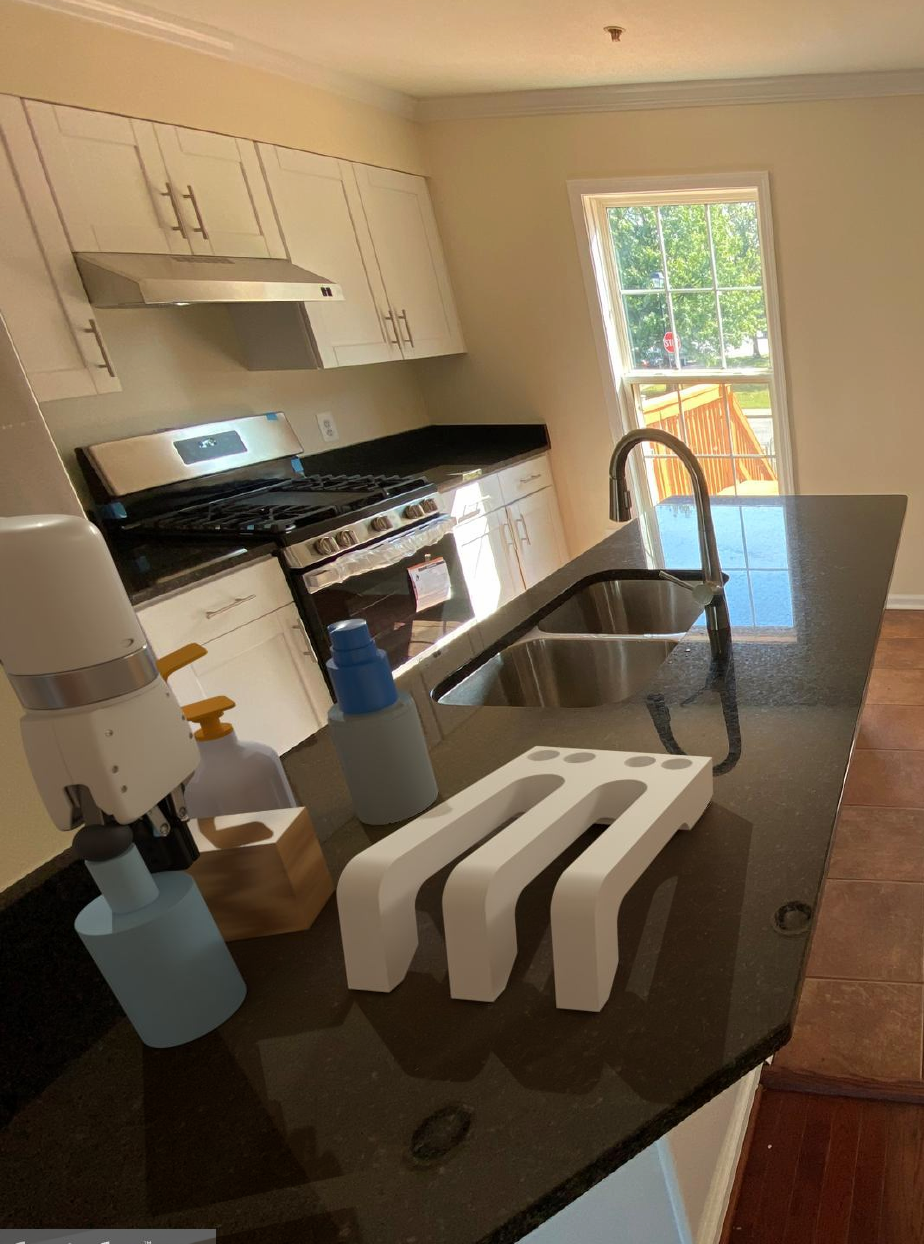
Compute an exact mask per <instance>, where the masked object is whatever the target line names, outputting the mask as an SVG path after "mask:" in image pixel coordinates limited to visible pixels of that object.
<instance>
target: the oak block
mask: <svg viewBox="0 0 924 1244" xmlns="http://www.w3.org/2000/svg"><path fill="white" fill-rule="evenodd" d="M187 824H188V827H189V829H190V831H191V834H192V836H193V838H194V841H195V843H196V845H197V847H198V850H199V852H200V857H199V858H198V859H197V860H196V861H195V862H193V864H192V865H191V866H190V868H189V869H187V870H181V871H182V872H186V873H188V874H190V875H191V876H192V877H193V879H194V881H195V883H196V885H197V887H198V889H199V891H200V893H201V895H202V897H203V899H204V901H205V903H206V905H207V907H208V909H209V911H210V913H211V915H212V917H213V919H214V921H215V923H216V926H217V928H218V930H219V932H220V934H221V936H222V938H223V940H224V942H225V943H228V942H233V941H234V942H235V941H241V940H246V939H247V940H248V939H254V938H261V937H268V936H275V935H281V934H288V933H296V932H301V931H309V929H310V928H311V927H312V925H313V924H314V922H315V921H316V919H317V918H318V916H319V914H320V913H321V911H322V910H323V909H324V907H325V906H326V904H327V902H328V901H329V899H330V897H331V896H332V895H333V894H334V891H335V890H336V888H335V885H334V881H333V879H332V876H331V873H330V871H329V867H328V865H327V862H326V860H325V856H324V853H323V851H322V848H321V845H320V842H319V839H318V836H317V834H316V831H315V828H314V825H313V823H312V819H311V816H310V814H309V811H308V808H307V806H297V807H296V808H287V809H278V810H270V811H261V812H252V813H243V814H234V815H226V816H217V817H208V818H199V819H191V820H189V821H188V822H187Z"/></svg>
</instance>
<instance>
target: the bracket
mask: <svg viewBox="0 0 924 1244" xmlns="http://www.w3.org/2000/svg"><path fill="white" fill-rule="evenodd" d="M713 769H714V768H713V757H712V756H701V755H699V756H698V755H685V754H682V755H681V754H668V753H653V752H652V753H651V752H638V751H637V752H636V751H621V750H604V749H592V748H591V749H590V748H589V749H588V748H576V747H575V748H572V747H558V746H557V747H556V746H543V745H535V746H533V747H532V748H530V749H528V750H527V751H525V752H524V753H522V754H520V755H518V756H517V757H515V758H514V759H512V760H511V761H509V762H508V763H506V764H504V765H503V766H501V767H499V768H497V769H496V770H493V771H492V772H490V773H489V774H487V775H486V776H484V777H482V778H481V779H479V780H477V781H476V782H474V783H473V784H471V785H470V786H467V787H466V788H465V789H463V790H461V791H459V792H458V793H456V794H455V795H454V796H451V797H450V798H448V799H446V800H445V801H443V802H441V803H440V804H438V805H436V806H435V807H433V808H432V809H430V810H429V811H427V812H425V813H423V814H421V815H420V816H418V817H417V818H416V819H413V820H412V821H410V822H408V823H407V824H406V825H404V826H401V827H400V828H399V829H397V830H395V831H393V832H392V833H391V834H389V835H387V836H386V837H384V838H382V839H381V840H378V841H377V842H376V843H374V844H373V845H371V846H369V847H367V848H366V849H364V850H362V851H361V852H359V853H358V854H356V855H355V856H354V857H352V858H351V859H350V860H349V861H348V862H347V864H346V866H345V867H344V869H343V870H342V871H341V874H340V876H339V879H338V882H337V884H336V885H337V886H336V902H337V903H336V904H337V910H338V911H337V912H338V918H339V926H340V935H341V942H342V950H343V957H344V966H345V972H346V980H347V986H348V987H347V989H349V990H359V991H371V992H380V993H381V992H383V993H390V992H392V990H394V989H395V988H396V987H397V986H398V985H399V984H401V983H402V982H403V981H404V979H405V978H406V975H407V973H408V970H409V968H410V966H411V964H412V961H413V958H414V956H415V953H416V951H417V949H418V946H419V944H420V943H419V934H418V926H417V925H418V924H417V915H416V908H415V907H416V899H417V895H418V893H419V891H420V888H421V887H422V885H423V884H424V883H425V882H426V881H427V880H428V879H429V878H431V877H432V876H433V875H434V874H437V873H438V872H439V871H440V870H442V869H443V868H444V867H446V866H447V865H448V864H450V863H452V862H453V861H454V860H455V859H456V858H458V857H459V856H460V855H462V854H463V853H464V852H466V851H467V850H468V849H470V848H471V847H473V846H475V844H477V843H478V842H480V841H481V840H482V839H484V838H485V837H486V836H488V835H489V834H490V833H492V832H494V830H495V829H497V828H498V827H500V826H501V825H502V824H504V823H505V822H507V821H508V820H510V819H511V818H515V819H516V820H514V821H513V822H511V823H510V824H509V825H508V826H506V827H504V829H502V830H501V831H499V833H497V834H496V835H495V836H493V837H492V838H490V839H489V840H488V841H487V842H485V843H484V844H482V845H481V846H480V847H479V848H476V850H474V851H473V852H472V853H470V854H469V855H468V856H467V857H465V858H464V859H463V860H461V861H460V862H459V863H458V864H456V866H455V867H454V868H453V869H452V871H451V872H450V874H449V876H448V878H447V879H446V882H445V886H444V888H443V893H442V899H441V905H442V916H443V917H442V918H443V926H444V937H445V946H446V949H445V950H446V956H447V957H446V958H447V970H448V979H449V989H450V998H451V999H458V1000H467V1001H478V1002H491V1003H494V1002H495V1001H496V1000H497V998H498V997H500V995H501V994H502V993H503V992H504V991H505V990H506V987H507V985H508V981H509V978H510V976H511V973H512V970H513V967H514V963H515V960H516V958H517V955H518V942H517V941H518V940H517V927H516V914H515V913H516V906H517V902H518V899H519V897H520V895H521V893H522V891H523V890H524V889H525V887H526V886H528V885H529V884H530V883H531V882H532V881H533V880H535V878H536V877H537V876H539V875H540V874H541V872H543V871H544V870H545V869H546V868H547V867H548V866H549V865H550V864H551V863H552V862H553V861H554V860H556V859H557V858H558V857H559V856H561V854H562V853H563V852H564V851H565V850H566V849H568V848H569V847H570V846H571V845H572V844H573V843H574V842H575V841H576V840H577V839H578V838H579V837H581V835H583V834H584V833H585V832H586V831H587V830H588V829H589V828H591V826H592V825H594V824H599V825H610V826H608V828H606V830H604V832H602V833H601V834H600V835H599V836H598V837H597V838H596V840H594V841H593V842H592V843H591V845H589V846H588V847H587V848H586V849H585V850H584V851H583V852H582V853H581V854H580V855H579V856H578V857H577V858H576V859H575V860H574V861H573V862H572V863H571V864H570V865H569V866H568V867H567V868H566V869H565V870H563V872H562V874H561V875H560V877H559V878H558V880H557V882H556V885H555V887H554V890H553V894H552V898H551V901H550V902H551V903H550V927H551V941H552V942H551V943H552V959H553V973H554V975H553V976H554V986H555V987H554V991H555V1001H556V1002H555V1005H556V1009H566V1010H574V1011H575V1010H576V1011H586V1012H597V1013H600V1012H601V1010H602V1009H603V1008H604V1006H605V1004H606V1003H607V1001H608V1000H609V998H610V994H611V991H612V987H613V984H614V980H615V975H616V973H617V970H618V964H619V945H618V944H619V941H618V915H619V911H620V907H621V904H622V901H623V899H624V897H625V895H626V894H627V893H628V892H629V890H631V888H632V887H633V886H634V884H635V883H636V882H637V881H638V879H639V878H640V877H641V876H642V875H643V873H644V872H645V871H646V869H647V868H649V866H650V864H652V862H653V861H654V859H655V858H656V857H657V856H658V854H660V852H661V851H662V850H663V849H664V847H665V846H666V845H667V843H669V841H670V840H671V839H672V838H673V836H674V835H675V833H676V832H677V831H678V830H684V831H691V830H692V828H693V827H694V826H695V825H696V823H697V822H698V821H699V819H700V818H701V816H702V815H704V813H705V811H706V810H707V809H706V807H707V804H708V803H709V801H710V799H711V797H712V795H713V796H714V790H713V789H714V783H713V782H714V781H713V780H714V778H713V777H714V776H713V773H714V772H713V771H714V770H713ZM707 808H708V807H707ZM705 809H706V810H705ZM704 810H705V811H704ZM703 812H704V813H703Z"/></svg>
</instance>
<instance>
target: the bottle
mask: <svg viewBox="0 0 924 1244" xmlns="http://www.w3.org/2000/svg"><path fill="white" fill-rule="evenodd" d="M132 839H133V833H132V830H131V828H130V827H129V826H128V825H127V824H124V825H123V824H120V823H119V822H117V821H116V820H111V821H109V822H107V823H106V824H104V825H101V824H93V825H88V826H86V827H85V825H83V826H82V827H81V828H80V829H78V831H77V832H76V833H75V834H74V836H73V838H72V841H71V848H72V852H73V853H74V854H75V855H76V856H77V857H78V858H80V859H82V860H83V861H84V865H85V866H86V868H87V870H88V871H89V873H90V876H91V877H92V878H93V880H94V882H95V884H96V885H97V887H98V889H99V891H100V893H101V895H99V896H98V897H96V898H94V899H93V900H92V901H91V902H89V903H88V904H87V905H86V906H84V908H83V909H82V910H81V911H80V912H79V913H78V915H77V917H76V918H75V920H74V930H75V932H76V933H77V935H78V936H79V938H80V940H81V941H82V943H83V945H84V946H85V948H86V950H87V951H88V953H89V955H90V956H91V958H92V959H93V961H94V963H95V964H96V967H97V968H98V969H99V971H100V973H101V975H102V976H103V978H104V979H105V981H106V983H107V984H108V986H109V988H110V990H111V991H112V993H113V995H114V996H115V998H116V999H117V1001H118V1003H119V1004H120V1006H121V1007H122V1009H123V1011H124V1013H125V1014H126V1016H127V1017H128V1019H129V1021H130V1022H131V1024H132V1026H133V1027H134V1030H135V1031H136V1033H137V1034H138V1036H139V1037H140V1039H141V1041H142V1042H143V1044H145V1045H146V1046H148V1047H152V1048H158V1049H165V1048H172V1047H176V1046H180V1045H184V1044H187V1043H189V1042H192V1041H195V1040H197V1039H200V1038H201V1037H203V1036H205V1035H207V1034H209V1033H210V1032H212V1031H213V1030H215V1029H217V1028H218V1027H219V1026H221V1025H222V1024H224V1023H225V1022H226V1021H227V1020H228V1019H229V1018H231V1017H232V1016H233V1015H234V1014H235V1013H236V1012H237V1011H238V1010H239V1008H240V1007H241V1006H242V1005H243V1002H244V1001H245V999H246V996H247V989H248V988H247V984H246V983H245V981H244V979H243V976H242V974H241V972H240V970H239V968H238V967H237V964H236V962H235V960H234V957H233V956H232V954H231V952H230V949H229V948H228V945H227V944H226V942H224V940H223V938H222V936H221V934H220V932H219V930H218V928H217V926H216V923H215V921H214V919H213V917H212V915H211V913H210V911H209V909H208V907H207V905H206V903H205V901H204V899H203V897H202V895H201V893H200V891H199V889H198V887H197V885H196V883H195V881H194V879H193V877H192V876H191V875H190V874H188V873H186V872H182V871H165V872H158V873H153V874H150V872H149V870H148V869H147V867H146V865H145V863H144V861H143V859H142V857H141V855H140V853H139V851H138V849H137V847H136V845H135V844H134V843H132Z"/></svg>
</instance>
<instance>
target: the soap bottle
mask: <svg viewBox="0 0 924 1244" xmlns="http://www.w3.org/2000/svg"><path fill="white" fill-rule="evenodd" d="M208 653H209V650H208V649H207V648H205V647H203V646H202V645H200V644H199V643H198V642H191V643H189V644H186V645H184V646H183V647H180V648H178V649H176V650H175V651H173V652H171V653H168V654H167V655H164V656H163V657H160V658H158V659H157V660H154V661H155V664H156V666H157V668H158V671H159V673H160V675H161V677H162V678H163V680H164V681H165V683H166V684H167V685H168V679H169V677H170V676H171V675H172V674H174V673H175V672H177V671H179V670H180V669H182V668H184V667H186V666H188V665H190V664H192V663H194V662H195V661H197V660H199V659H201V658H203V657H204V656H206V655H207V654H208ZM235 707H236V702H235V701H234V700H232V699H231V698H229V697H228V696H226V695H216V696H213V697H209V698H206V699H203V700H199V701H196V702H192V703H189V704H186V705H182V706H180V708H181V709H182V711H183V713H184V715H185V717H186V719H187V721H188V723H189V722H191V723H193V724H199V726H200V728H199V729H197V730H195V731H194V732H193V735H194V737H195V740H196V743H197V746H198V749H199V753H200V762H199V764H198V766H197V768H196V769H195V774H194V776H193V777H192V778H191V780H190V781H189V783H188V784H187V785H186V787H185V792H184V799H185V802H186V806H187V809H188V814H187V818H188V819H189V821H190V820H191V819H199V818H208V817H217V816H226V815H234V814H243V813H252V812H261V811H270V810H278V809H287V808H296V807H298V806H297V804H296V800H295V798H294V795H293V792H292V788H291V787H290V786H291V785H290V784H289V780H288V778H287V775H286V772H285V768H284V766H283V763H282V761H281V758H280V755H279V754H278V752H277V751H276V750H275V749H274V748H273V747H272V746H270V745H268V744H265V743H262V742H257V741H253V740H241V739H238V737H237V734H236V732H235V729H234V727H233V724H232V723H230V722H221V720H220V718H221V717H223V716H224V715H225V711H229V710H232V709H233V708H235Z"/></svg>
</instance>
